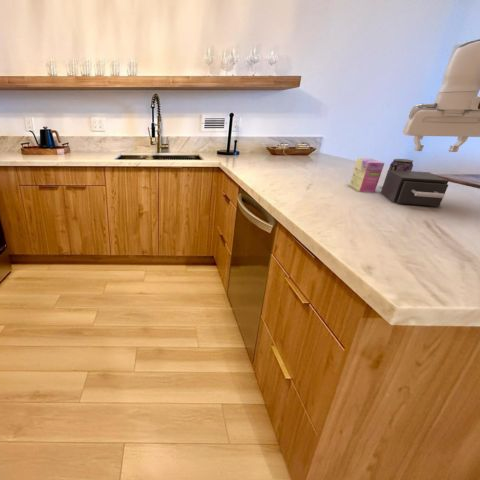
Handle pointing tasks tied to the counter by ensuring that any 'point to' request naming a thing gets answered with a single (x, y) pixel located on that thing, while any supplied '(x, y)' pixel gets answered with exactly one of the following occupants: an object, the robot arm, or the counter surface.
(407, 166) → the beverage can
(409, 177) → the fryer
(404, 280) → the counter surface
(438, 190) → the basket
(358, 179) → the box
